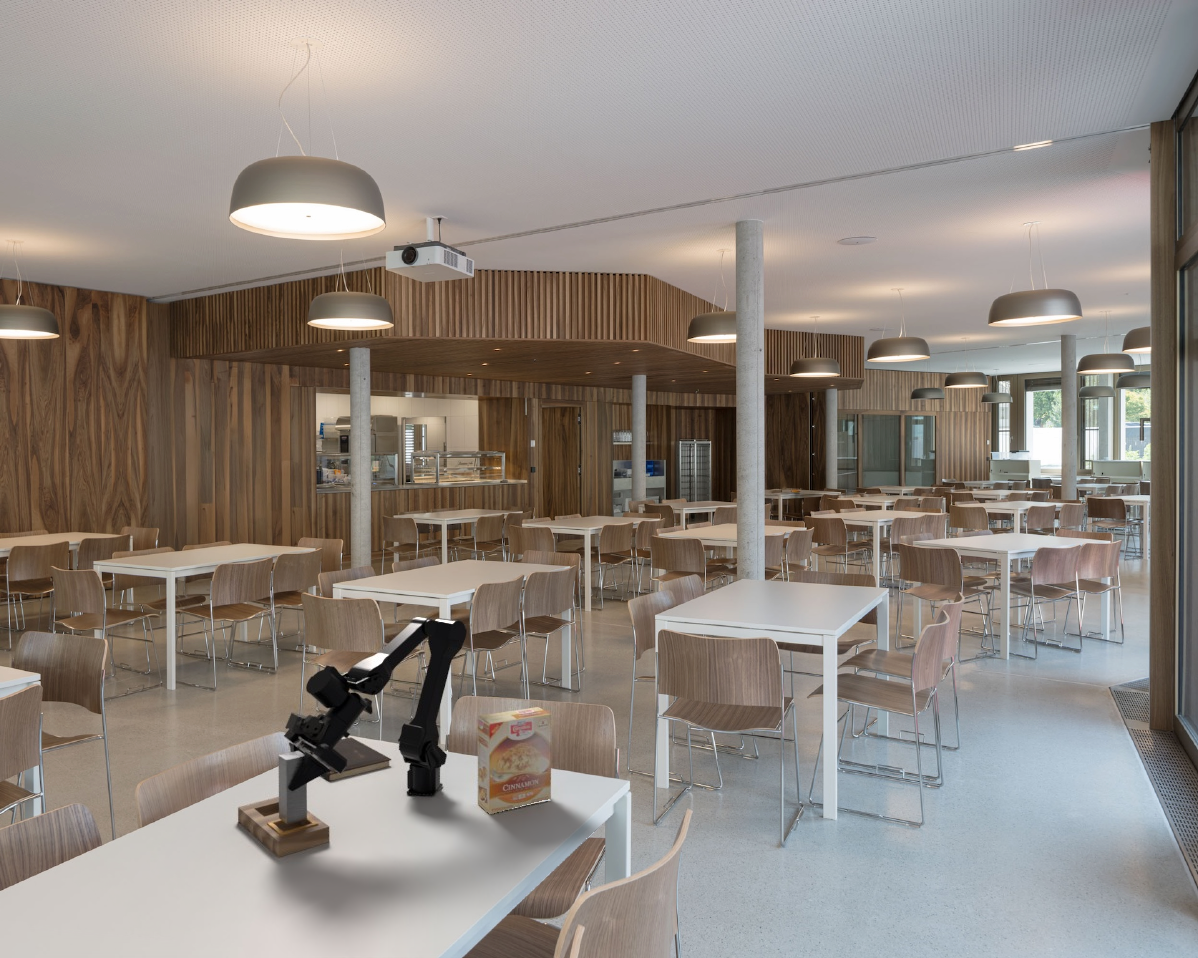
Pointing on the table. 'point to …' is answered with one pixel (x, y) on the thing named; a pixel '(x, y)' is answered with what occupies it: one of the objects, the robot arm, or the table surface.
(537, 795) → the coffeecake box
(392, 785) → the table surface
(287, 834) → the wooden peg holder
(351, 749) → the hardcover book
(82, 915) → the table surface
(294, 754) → the peg
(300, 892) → the table surface
